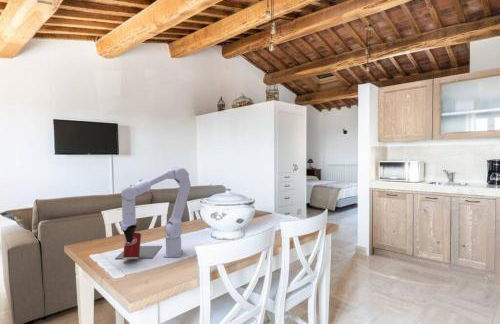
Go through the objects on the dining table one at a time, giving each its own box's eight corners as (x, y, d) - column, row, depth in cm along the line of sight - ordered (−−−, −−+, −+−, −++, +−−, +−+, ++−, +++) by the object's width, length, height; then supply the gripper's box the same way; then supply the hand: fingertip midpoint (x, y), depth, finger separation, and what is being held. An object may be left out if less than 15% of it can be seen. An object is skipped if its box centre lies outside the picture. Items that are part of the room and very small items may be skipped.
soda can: (131, 258, 134) (134, 231, 138) (119, 259, 136) (122, 232, 140) (142, 258, 140) (144, 233, 144) (129, 259, 142) (132, 234, 147)
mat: (128, 247, 160) (128, 246, 160) (162, 246, 160) (162, 245, 160) (114, 259, 142) (114, 258, 142) (152, 258, 142) (152, 257, 142)
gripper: (126, 209, 143) (126, 237, 144) (113, 216, 129) (114, 246, 129) (140, 209, 144) (141, 237, 144) (129, 216, 129) (130, 246, 130)
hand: (129, 241), depth 137 cm, fingers closed
